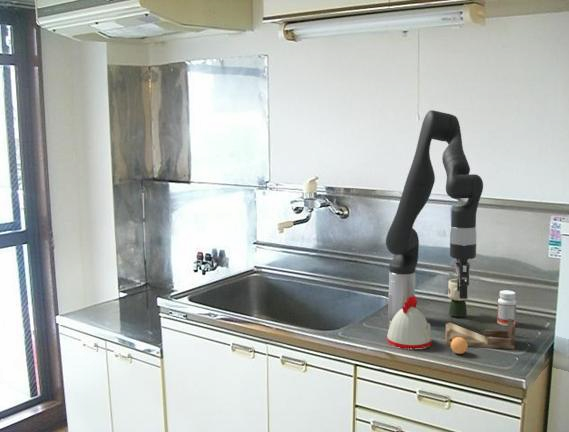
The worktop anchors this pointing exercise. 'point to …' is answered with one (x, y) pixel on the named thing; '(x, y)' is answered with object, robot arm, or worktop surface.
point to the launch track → (483, 336)
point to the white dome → (409, 327)
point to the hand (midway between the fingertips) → (462, 294)
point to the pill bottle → (506, 308)
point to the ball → (459, 345)
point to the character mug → (456, 300)
